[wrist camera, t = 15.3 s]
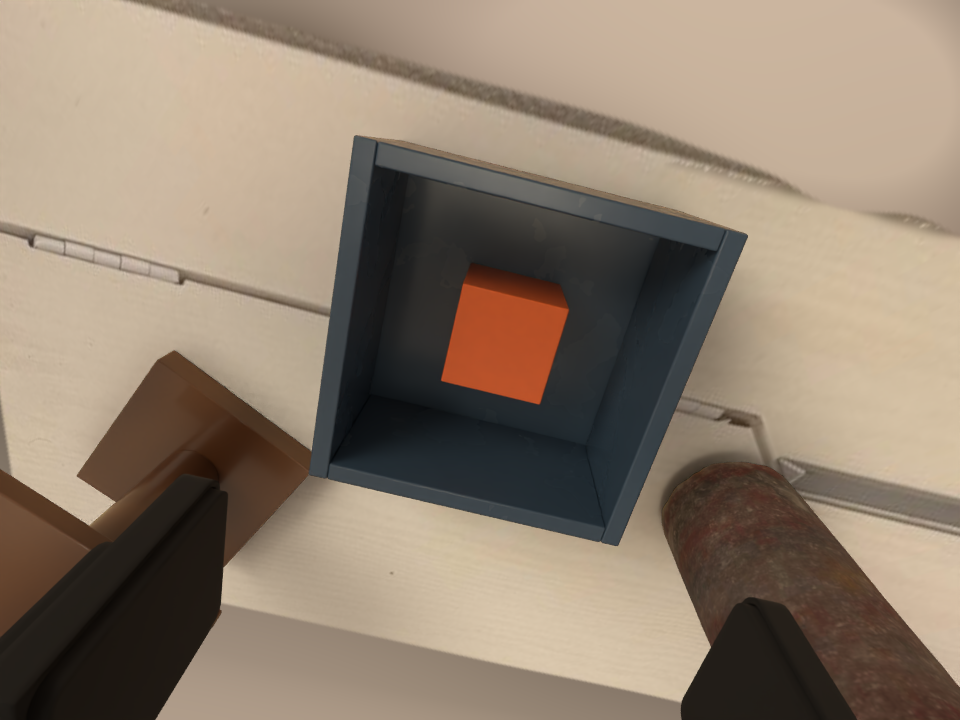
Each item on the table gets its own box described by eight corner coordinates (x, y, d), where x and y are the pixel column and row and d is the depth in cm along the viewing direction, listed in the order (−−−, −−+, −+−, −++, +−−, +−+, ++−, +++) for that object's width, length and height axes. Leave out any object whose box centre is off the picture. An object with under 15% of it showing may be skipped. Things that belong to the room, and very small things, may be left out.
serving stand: (94, 462, 32) (-127, 625, 21) (174, 349, 29) (-37, 470, 18) (232, 554, 34) (96, 747, 23) (320, 457, 31) (212, 627, 20)
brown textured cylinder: (654, 452, 30) (889, 951, 11) (791, 438, 29) (1291, 951, 10) (659, 560, 32) (855, 1106, 14) (784, 550, 32) (1172, 1115, 13)
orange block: (451, 346, 27) (440, 381, 23) (471, 262, 26) (463, 283, 21) (536, 366, 27) (539, 405, 23) (560, 284, 26) (569, 309, 22)
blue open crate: (358, 396, 30) (307, 475, 22) (400, 140, 25) (353, 134, 17) (592, 452, 30) (618, 547, 23) (681, 211, 25) (750, 234, 18)
